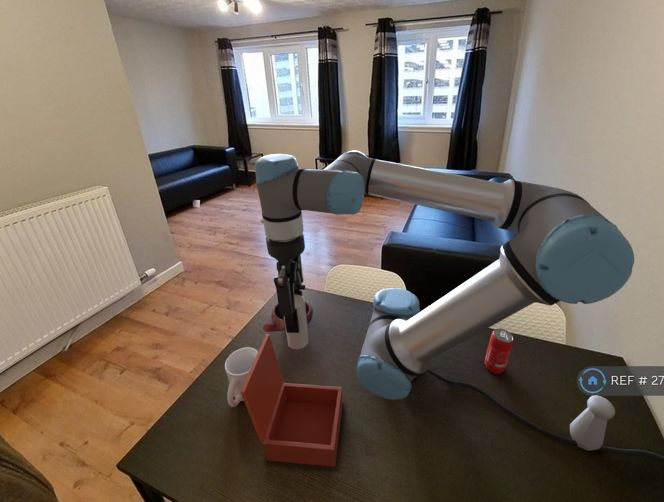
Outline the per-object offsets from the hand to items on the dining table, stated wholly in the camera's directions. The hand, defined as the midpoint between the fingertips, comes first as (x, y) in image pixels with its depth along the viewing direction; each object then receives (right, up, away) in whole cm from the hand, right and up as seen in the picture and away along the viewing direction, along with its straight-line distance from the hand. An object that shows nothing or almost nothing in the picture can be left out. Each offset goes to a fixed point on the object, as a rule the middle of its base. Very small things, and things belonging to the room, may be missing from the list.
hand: (295, 321), depth 71 cm
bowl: (-6, -11, +28) cm, 30 cm away
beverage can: (+53, -17, +13) cm, 57 cm away
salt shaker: (+64, -25, -4) cm, 69 cm away
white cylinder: (0, -5, +3) cm, 6 cm away
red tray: (+3, -25, -1) cm, 25 cm away
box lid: (-5, -11, -7) cm, 14 cm away
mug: (-14, -21, +7) cm, 27 cm away
